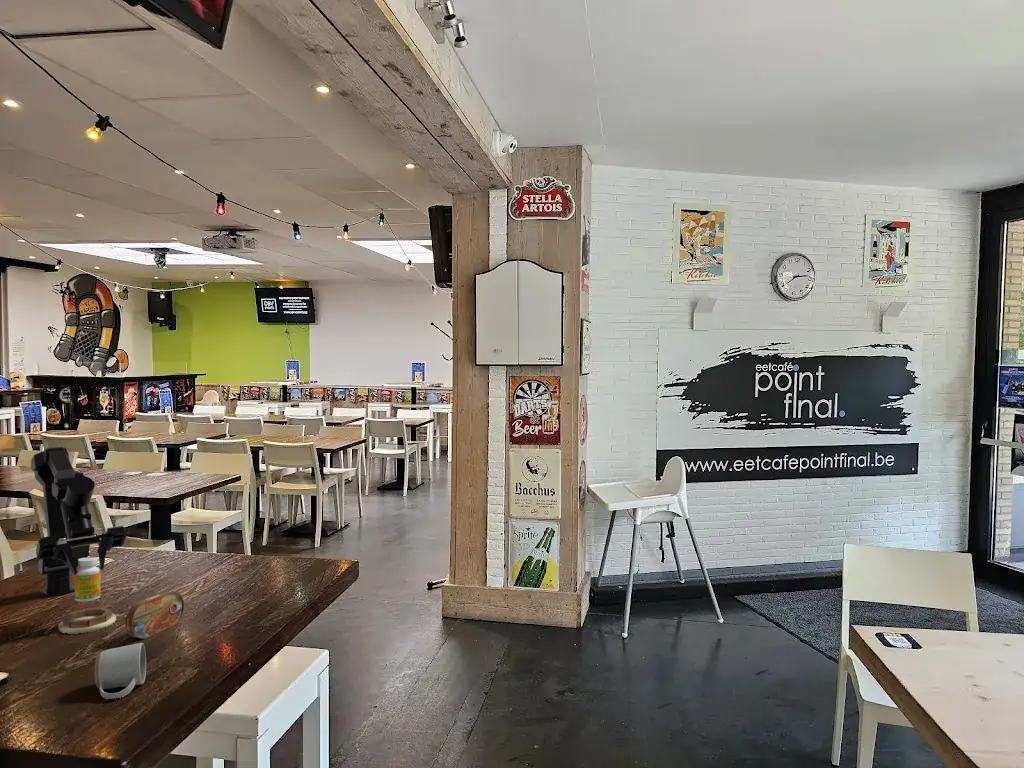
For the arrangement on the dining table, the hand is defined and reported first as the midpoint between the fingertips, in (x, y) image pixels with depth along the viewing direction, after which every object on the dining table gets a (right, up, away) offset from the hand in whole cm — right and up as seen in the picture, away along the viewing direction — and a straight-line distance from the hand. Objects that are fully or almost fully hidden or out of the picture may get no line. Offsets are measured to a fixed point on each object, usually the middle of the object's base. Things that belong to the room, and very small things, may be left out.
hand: (89, 571), depth 171 cm
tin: (+18, -14, -4) cm, 23 cm away
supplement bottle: (-1, -7, +1) cm, 7 cm away
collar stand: (-1, -13, +1) cm, 13 cm away
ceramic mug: (+26, -14, -33) cm, 44 cm away
